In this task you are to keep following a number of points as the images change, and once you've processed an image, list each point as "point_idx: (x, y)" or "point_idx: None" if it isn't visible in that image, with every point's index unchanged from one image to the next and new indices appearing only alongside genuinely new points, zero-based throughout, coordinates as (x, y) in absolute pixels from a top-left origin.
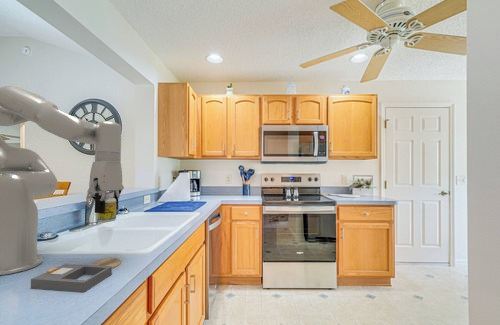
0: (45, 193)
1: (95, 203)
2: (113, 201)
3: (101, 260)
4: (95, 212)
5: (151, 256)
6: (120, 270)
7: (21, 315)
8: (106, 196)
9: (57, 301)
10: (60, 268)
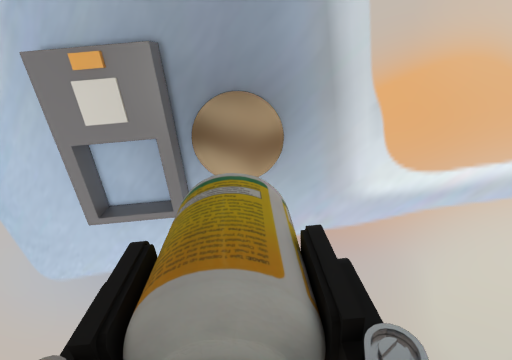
0: None
1: (69, 340)
2: None
3: (255, 104)
4: (134, 246)
5: (324, 222)
6: None
7: None
8: None
9: (50, 192)
10: (113, 69)
